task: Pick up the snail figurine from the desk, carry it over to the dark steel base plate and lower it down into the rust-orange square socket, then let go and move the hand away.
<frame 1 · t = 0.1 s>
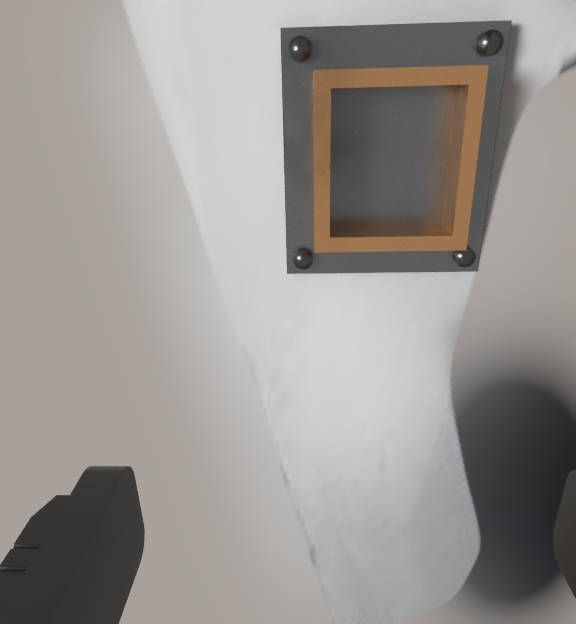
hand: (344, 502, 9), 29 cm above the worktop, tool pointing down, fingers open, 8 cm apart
socket plate: (385, 158, 35), on the worktop
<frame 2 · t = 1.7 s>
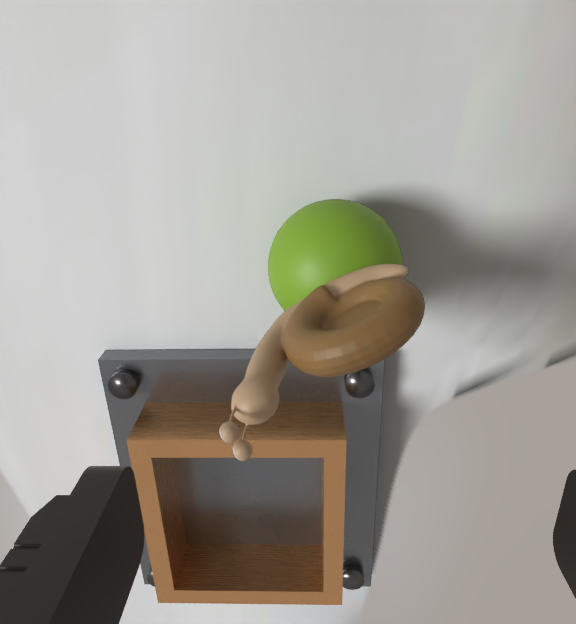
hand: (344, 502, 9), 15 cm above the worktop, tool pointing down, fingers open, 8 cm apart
snail figurine: (321, 251, 23), on the worktop
socket plate: (251, 472, 29), on the worktop
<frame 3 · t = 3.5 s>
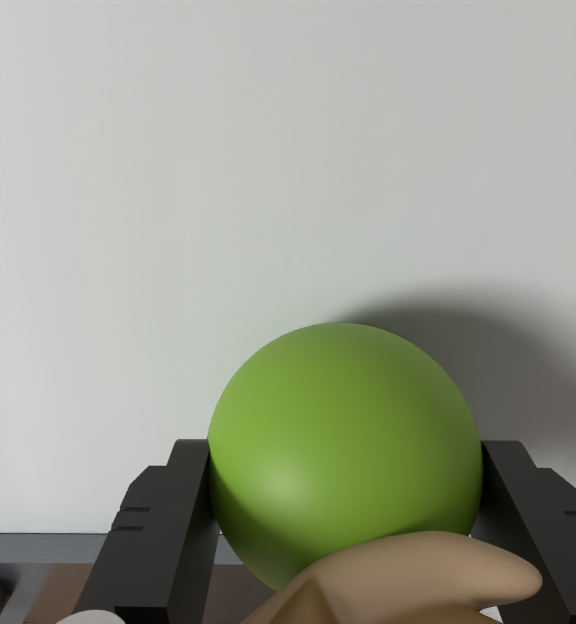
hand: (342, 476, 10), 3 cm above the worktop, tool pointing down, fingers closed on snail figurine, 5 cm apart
snail figurine: (314, 388, 13), on the worktop, touching gripper
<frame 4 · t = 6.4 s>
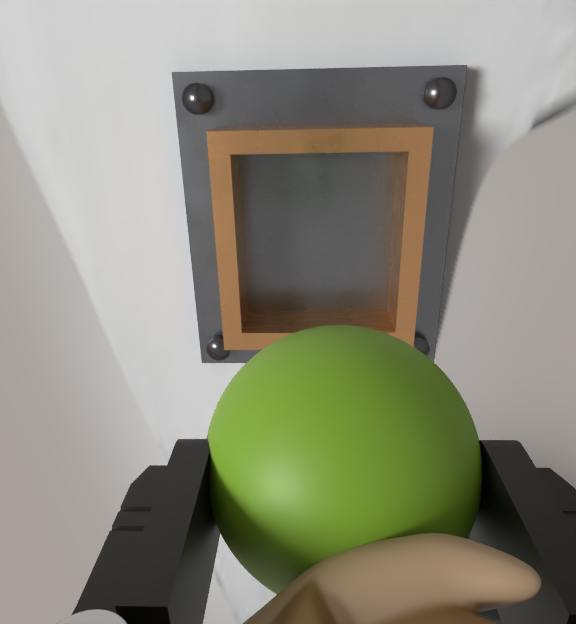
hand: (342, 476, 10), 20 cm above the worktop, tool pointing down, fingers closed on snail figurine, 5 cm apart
snail figurine: (314, 390, 13), point 16 cm above the worktop, touching gripper
socket plate: (316, 228, 28), on the worktop
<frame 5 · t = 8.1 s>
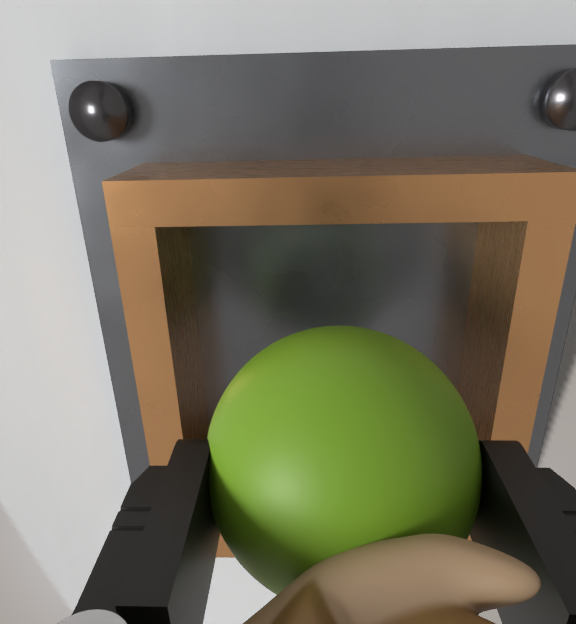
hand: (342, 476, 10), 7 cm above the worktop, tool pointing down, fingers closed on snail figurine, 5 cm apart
snail figurine: (313, 390, 13), point 4 cm above the worktop, touching gripper
socket plate: (329, 331, 16), on the worktop
when the fingers open (5 cm above the worktop, at t = 9.2 s): snail figurine stays where it is, resting on socket plate.
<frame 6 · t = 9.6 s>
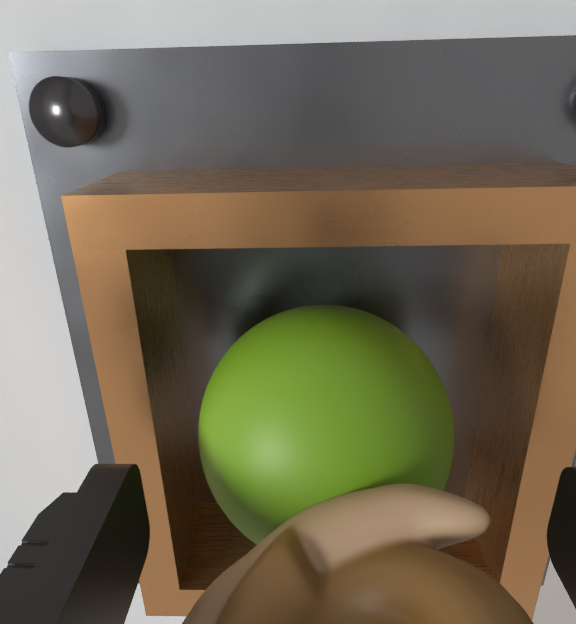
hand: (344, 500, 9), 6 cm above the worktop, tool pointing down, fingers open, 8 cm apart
snail figurine: (304, 370, 14), point 1 cm above the worktop, touching socket plate
socket plate: (331, 358, 15), on the worktop
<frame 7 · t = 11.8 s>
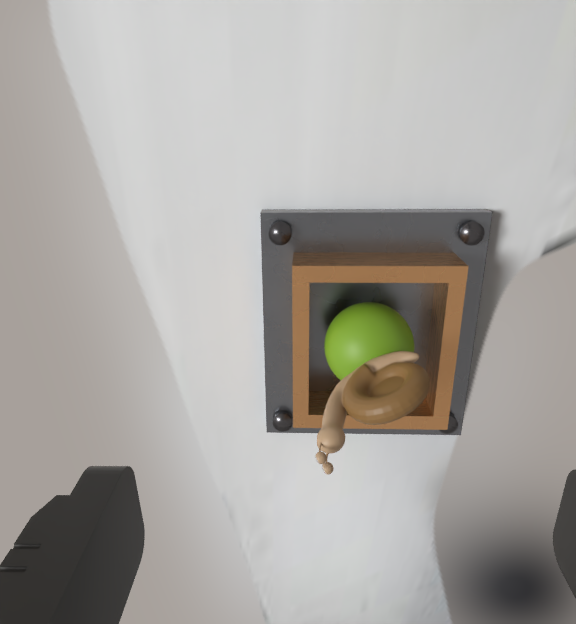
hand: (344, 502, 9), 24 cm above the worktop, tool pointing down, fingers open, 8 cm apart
snail figurine: (357, 330, 34), point 1 cm above the worktop, touching socket plate
socket plate: (367, 326, 34), on the worktop
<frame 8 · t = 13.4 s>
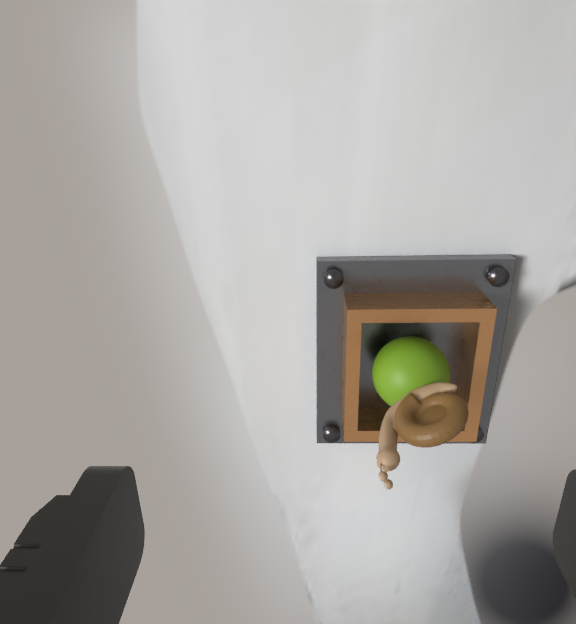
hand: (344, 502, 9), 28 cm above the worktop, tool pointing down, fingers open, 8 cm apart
snail figurine: (397, 357, 39), point 1 cm above the worktop, touching socket plate
socket plate: (405, 353, 40), on the worktop
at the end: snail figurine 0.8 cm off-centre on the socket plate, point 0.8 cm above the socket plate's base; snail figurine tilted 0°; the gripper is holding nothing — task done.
